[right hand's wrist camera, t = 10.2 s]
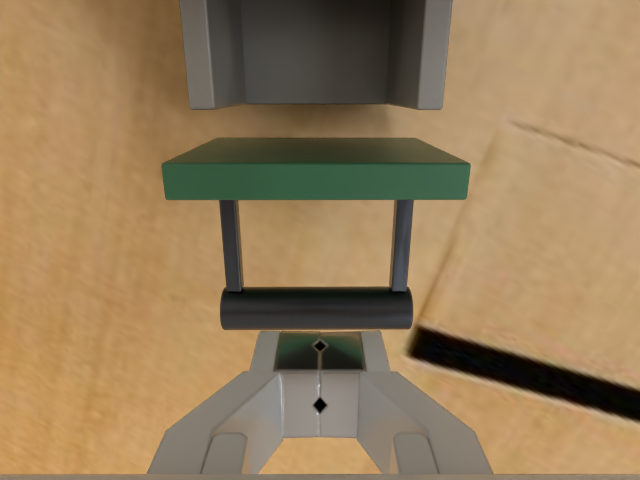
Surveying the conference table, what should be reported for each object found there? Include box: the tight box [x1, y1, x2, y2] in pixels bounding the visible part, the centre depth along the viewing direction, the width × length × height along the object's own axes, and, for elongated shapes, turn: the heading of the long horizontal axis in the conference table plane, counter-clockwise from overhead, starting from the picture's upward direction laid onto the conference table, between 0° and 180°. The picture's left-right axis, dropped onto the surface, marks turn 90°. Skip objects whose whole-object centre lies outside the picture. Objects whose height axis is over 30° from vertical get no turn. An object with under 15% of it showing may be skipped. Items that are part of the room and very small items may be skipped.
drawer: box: [161, 0, 471, 330], centre depth 16 cm, size 18×10×8 cm, turn 0°
